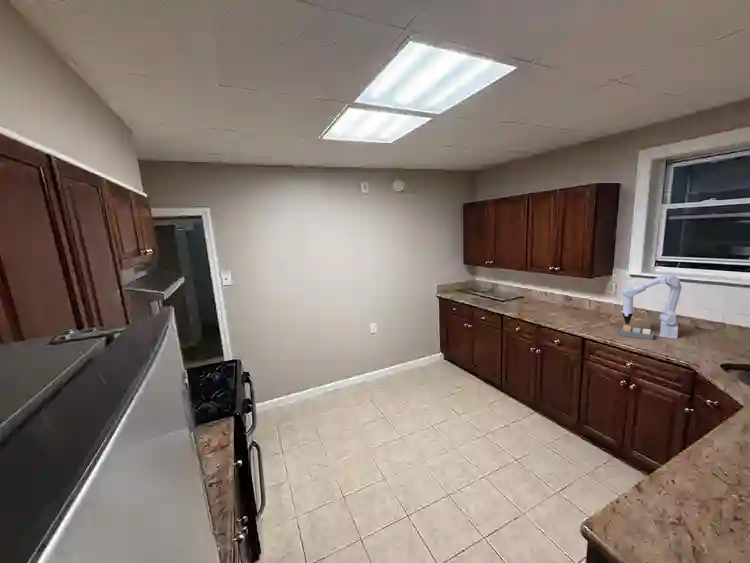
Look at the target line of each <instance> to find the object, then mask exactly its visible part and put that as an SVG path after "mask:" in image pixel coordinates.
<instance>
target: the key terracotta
mask: <svg viewBox="0 0 750 563" xmlns="http://www.w3.org/2000/svg"><path fill="white" fill-rule="evenodd" d="M622 328H623V331H627V332H631V329H632V325H631V324H623V326H622Z"/></svg>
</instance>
